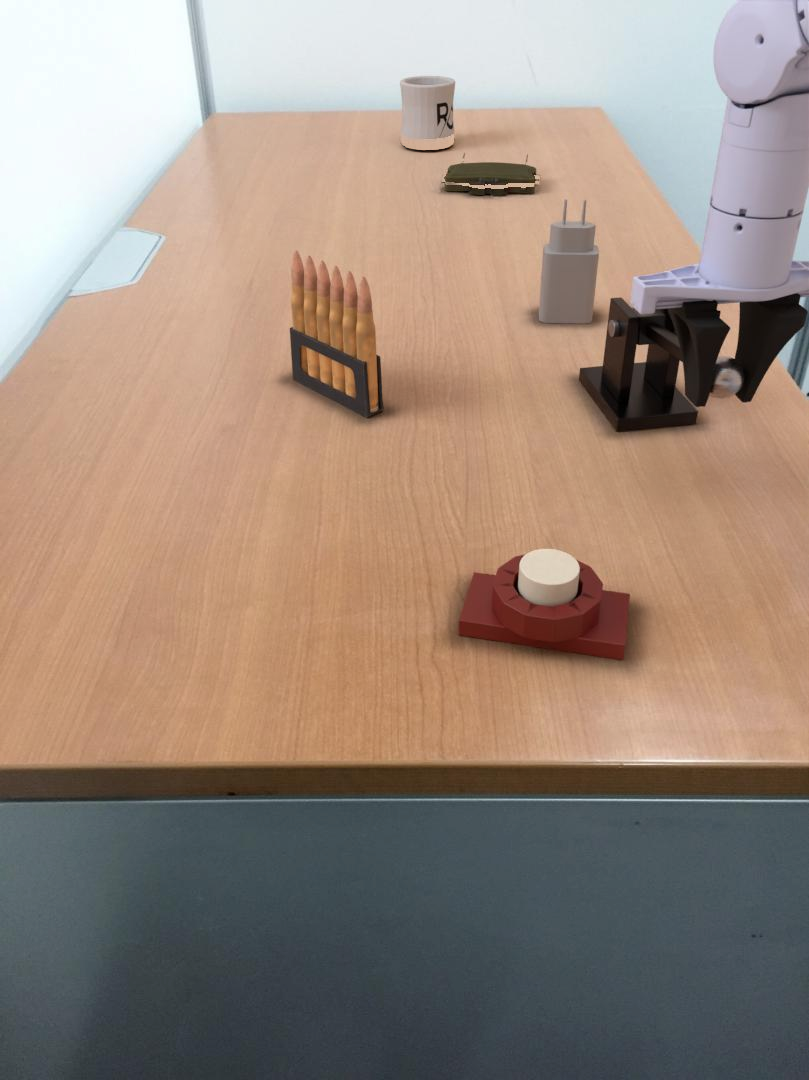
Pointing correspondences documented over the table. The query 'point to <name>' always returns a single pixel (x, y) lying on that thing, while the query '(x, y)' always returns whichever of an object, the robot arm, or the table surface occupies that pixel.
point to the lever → (653, 331)
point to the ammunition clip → (334, 337)
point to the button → (548, 577)
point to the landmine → (490, 177)
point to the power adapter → (569, 272)
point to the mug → (427, 107)
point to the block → (546, 614)
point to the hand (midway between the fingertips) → (718, 398)
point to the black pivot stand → (636, 377)
